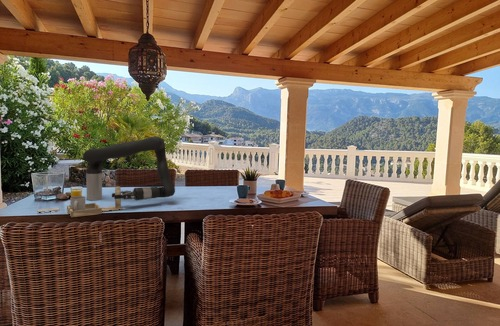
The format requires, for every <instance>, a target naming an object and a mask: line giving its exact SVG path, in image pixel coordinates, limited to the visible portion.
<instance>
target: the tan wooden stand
mask: <svg viewBox="0 0 500 326" xmlns="http://www.w3.org/2000/svg"><path fill="white" fill-rule="evenodd" d="M121 188H122V187H121V186H115V187H114V193H115V195H122V193H121V190H122V189H121ZM114 201H115V202H114V205H113V206H105V207H101V206H100V205H99V204H98V203H97V202H92V203H85V210H78V211H73V210H72V209H71V204H70V205H66V211H68V212H67V213H68V215H69V214H70V215H69V216H70V218H78V217H85V216H95V215H102V214H103V212H110V211H109V210H112V211H118V210H119V209H120V210H124V208H123V206H121V205H122V204H121V202H122V198H121V199H115V198H114ZM102 211H103V212H102Z"/></svg>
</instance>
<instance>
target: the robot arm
mask: <svg viewBox="0 0 500 326" xmlns="http://www.w3.org/2000/svg"><path fill="white" fill-rule="evenodd" d="M148 151H154V154H155V157H156V167H157V169H156V171H157V176H158V179H159V182H160V183H162V186H144V187H143V186H141V187H135V188H133V190H132V191H131V190H122V191H121V195H115V192H112V193H111V198H114V200H115V199H121V200H134V201H143V200H144V201H145V200H150V199H156V198H157V199H158V198H168V197H172V196H174V195H175V193H176V187H175V184H174V182H173V179H172V178H171V173H170V170H169V165H168V160H167V155H166V142H165V140H164V139H163V138H162V137H160V136H155V135H154V136H149V137H146V138H143V139H140V140H132V141H126V142H120V143H116V144H113V145H109V146H106V147H102V148H95V147H94V148H88V149H87V150H85V151H84V153H83V155H82V158H83V160H84V161H85V162H86V163H88V166H87V168H85V169H86V172H85V176H86V177H85V178H86V200H88V201H99V200H102V199H103V168H104V160H109V159H120V158H121V159H122V158H126V157H130V156H134V155H136V154H140V153H141V152H148Z"/></svg>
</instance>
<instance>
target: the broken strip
mask: <svg viewBox="0 0 500 326" xmlns="http://www.w3.org/2000/svg"><path fill="white" fill-rule="evenodd" d="M37 210H38V211H37V213H38V212H45V211H57V212H60V208H59V207H51V208H42V209H40V208H39V209H37Z"/></svg>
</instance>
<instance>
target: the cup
mask: <svg viewBox="0 0 500 326" xmlns="http://www.w3.org/2000/svg"><path fill="white" fill-rule="evenodd" d="M69 200H70V205H71V209H72V210H73V211H78V210H86V209H85V204H86V196H82V195H79V196H78V195H76V196H71V197H70V199H69Z"/></svg>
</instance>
